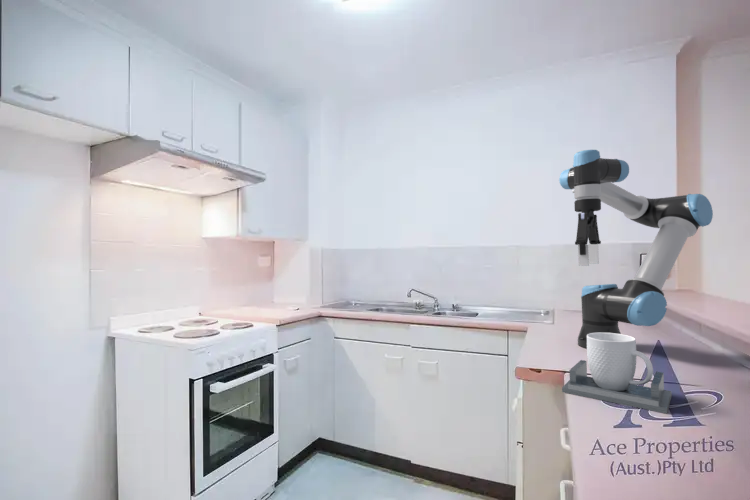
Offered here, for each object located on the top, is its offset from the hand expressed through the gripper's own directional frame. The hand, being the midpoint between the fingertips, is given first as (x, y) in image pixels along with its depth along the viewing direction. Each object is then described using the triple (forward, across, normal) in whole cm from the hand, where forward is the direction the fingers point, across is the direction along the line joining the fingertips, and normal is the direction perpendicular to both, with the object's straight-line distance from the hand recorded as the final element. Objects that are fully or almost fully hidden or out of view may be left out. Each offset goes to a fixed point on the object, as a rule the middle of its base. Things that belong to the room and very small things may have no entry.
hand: (589, 264), depth 127 cm
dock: (+32, +26, +11) cm, 42 cm away
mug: (+31, +25, +11) cm, 41 cm away
